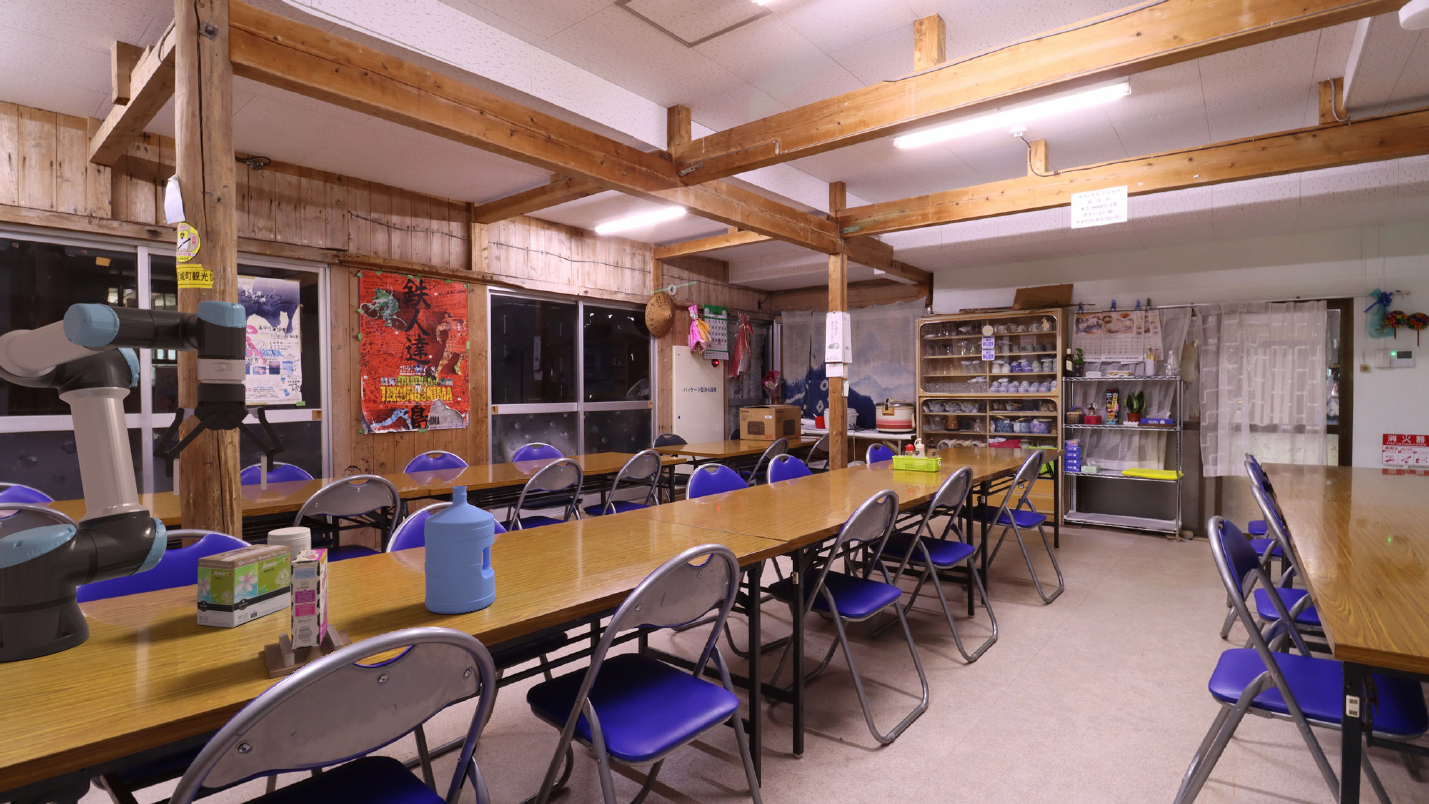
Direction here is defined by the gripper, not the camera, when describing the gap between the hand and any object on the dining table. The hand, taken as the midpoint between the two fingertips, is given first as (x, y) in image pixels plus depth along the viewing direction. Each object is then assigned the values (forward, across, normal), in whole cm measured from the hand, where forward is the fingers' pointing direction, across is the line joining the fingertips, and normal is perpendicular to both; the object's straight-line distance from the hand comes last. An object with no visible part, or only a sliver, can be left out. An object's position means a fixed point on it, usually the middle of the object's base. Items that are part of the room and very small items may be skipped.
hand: (221, 491), depth 128 cm
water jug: (+31, +46, 0) cm, 55 cm away
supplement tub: (+33, +16, +42) cm, 55 cm away
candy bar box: (+28, +14, -13) cm, 34 cm away
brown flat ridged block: (+31, +14, -13) cm, 36 cm away
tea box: (+32, +5, +22) cm, 39 cm away
